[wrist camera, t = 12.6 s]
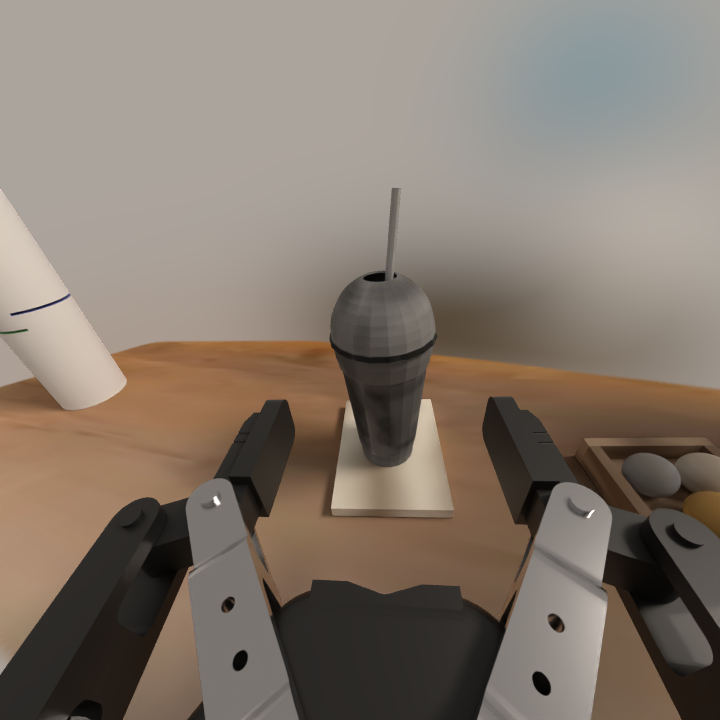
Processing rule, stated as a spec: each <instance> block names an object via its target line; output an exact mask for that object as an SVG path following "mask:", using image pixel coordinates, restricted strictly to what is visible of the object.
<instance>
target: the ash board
mask: <svg viewBox="0 0 720 720" xmlns="http://www.w3.org/2000/svg"><path fill="white" fill-rule="evenodd" d="M331 511H332V515H333V516H381V517H438V518H453V514H454V508H453V503H452V498H451V493H450V489H449V484H448V479H447V475H446V470H445V465H444V460H443V456H442V451H441V446H440V442H439V437H438V432H437V427H436V423H435V418H434V413H433V409H432V404H431V399H421V405H420V412H419V418H418V424H417V431H416V437H415V440H414V444H413V450H412V453H411V456H410V457H409V458H408V459H407V461H406V462H404V463H402V464H400V465H398V466H394V467H381V466H378V465H375V464H373V463H372V462H370V461H369V460H368V459H367V458H366V456H365V455H364V452H363V448H362V444H361V443H360V439H359V435H358V431H357V427H356V423H355V419H354V415H353V411H352V407H351V403H350V401H347V403H346V409H345V416H344V423H343V430H342V437H341V443H340V450H339V457H338V464H337V471H336V477H335V484H334V491H333V498H332V505H331Z"/></svg>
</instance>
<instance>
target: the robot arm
mask: <svg viewBox="0 0 720 720" xmlns="http://www.w3.org/2000/svg"><path fill="white" fill-rule="evenodd" d="M482 431H483V438H484V442H485V445H486V447H487V450H488V453H489V455H490V458H491V461H492V463H493V466H494V469H495V471H496V474H497V477H498V479H499V482H500V485H501V488H502V490H503V493H504V496H505V498H506V501H507V504H508V506H509V509H510V512H511V514H512V517H513V520H514V523H515V524H527V525H528V528H529V530H530V533H531V535H530V537H529V540H528V543H527V545H526V548H525V551H524V554H523V556H522V559H521V562H520V565H519V567H518V570H517V573H516V576H515V578H514V581H513V584H512V587H511V589H510V592H509V594H508V597H507V599H506V601H505V604H504V606H503V609H502V611H501V614H500V616H499V619H498V620H497V619H495V618H494V617H493V616H492V615H491V614H489V613H488V612H487V611H485V610H484V609H482V608H481V607H479V606H478V605H476V604H474V603H472V602H470V601H468V600H466V599H463V598H462V597H461V592H460V586H441V585H419V586H415V587H412V588H408V589H405V590H401V591H397V592H394V593H390V594H380V593H377V592H375V591H372V590H369V589H367V588H364V587H361V586H359V585H356V584H353V583H351V582H348V581H331V580H313V581H312V587H311V591H308V592H305V593H303V594H301V595H298V596H296V597H295V598H293V599H292V600H290V601H288V602H287V603H286V604H285V605H283V603H282V600H281V598H280V595H279V593H278V590H277V588H276V586H275V583H274V581H273V578H272V576H271V573H270V570H269V567H268V564H267V561H266V558H265V556H264V553H263V550H262V547H261V544H260V541H259V538H258V535H257V532H256V529H255V525H256V522H257V519H258V517H269V515H270V512H271V509H272V506H273V503H274V500H275V497H276V494H277V491H278V488H279V485H280V482H281V478H282V475H283V472H284V469H285V466H286V463H287V460H288V457H289V454H290V451H291V448H292V445H293V442H294V437H295V427H294V423H293V419H292V416H291V412H290V409H289V405H288V402H287V400H267V401H266V402H265V404H264V406H263V408H262V410H261V412H260V413H253V414H252V415H251V416H250V417H249V418H248V419H247V420H246V421H245V422H244V424H243V426H242V427H241V429H240V431H239V435H237V437H236V438H235V440H234V444H232V446H231V448H230V449H229V451H228V453H227V455H226V457H225V459H224V460H223V462H222V464H221V466H220V468H219V470H218V471H217V473H216V475H215V477H214V478H213V479H212V480H209V481H207V482H205V483H203V484H202V485H200V486H199V487H198V488H197V489H196V490H195V491H194V492H193V493H192V494H191V496H190V497H189V498H186V499H182V500H179V501H175V502H172V503H168V504H165V505H160V504H159V503H158V501H157V500H156V499H154V498H148V497H147V498H141V499H138V500H135V501H133V502H131V503H130V504H128V505H126V506H125V507H124V508H122V509H121V510H120V511H119V512H118V513H117V514H116V515H115V516H114V517H113V518H112V520H111V521H110V522H109V524H108V525H107V526H106V528H105V529H104V531H103V532H102V533H101V535H100V536H99V538H98V539H97V540H96V542H95V543H94V545H93V546H92V547H91V549H90V550H89V552H88V553H87V554H86V556H85V557H84V559H83V560H82V561H81V563H80V564H79V566H78V567H77V568H76V570H75V571H74V573H73V574H72V575H71V577H70V578H69V580H68V581H67V582H66V584H65V585H64V587H63V588H62V589H61V591H60V592H59V594H58V595H57V596H56V598H55V599H54V601H53V602H52V603H51V605H50V606H49V608H48V609H47V610H46V612H45V613H44V615H43V616H42V617H41V619H40V620H39V622H38V623H37V624H36V626H35V627H34V629H33V630H32V631H31V633H30V634H29V635H28V637H27V638H26V640H25V641H24V642H23V644H22V645H21V647H20V648H19V649H18V651H17V652H16V654H15V655H14V656H13V658H12V659H11V661H10V662H9V663H8V665H7V666H6V668H5V669H4V670H3V672H2V673H1V675H0V720H123V717H124V715H125V713H126V711H127V708H128V706H129V704H130V701H131V699H132V697H133V694H134V692H135V690H136V688H137V685H138V683H139V681H140V678H141V676H142V674H143V671H144V669H145V667H146V665H147V662H148V660H149V658H150V655H151V653H152V651H153V648H154V646H155V644H156V642H157V639H158V637H159V635H160V632H161V630H162V628H163V625H164V623H165V621H166V619H167V616H168V614H169V612H170V609H171V607H172V605H173V602H174V600H175V598H176V596H177V593H178V591H179V589H180V586H181V584H182V582H183V579H184V577H185V575H186V573H187V570H188V568H189V567H190V566H193V565H194V569H193V570H192V571H191V572H190V573H189V576H188V585H189V593H190V601H191V609H192V617H193V625H194V633H195V641H196V649H197V657H198V665H199V673H200V681H201V689H202V697H203V701H202V702H201V704H200V705H199V706H198V707H197V708H196V710H195V711H194V712H193V713H192V715H191V716H190V717H189V718H188V719H187V720H591V715H592V708H593V701H594V694H595V687H596V680H597V673H598V666H599V659H600V652H601V645H602V638H603V631H604V624H605V617H606V610H607V601H608V597H607V592H606V590H604V589H603V588H602V582H604V583H607V584H610V585H612V586H615V587H616V589H617V591H618V593H619V595H620V597H621V599H622V601H623V603H624V605H625V607H626V609H627V611H628V613H629V615H630V617H631V619H632V621H633V623H634V625H635V627H636V629H637V631H638V633H639V635H640V637H641V639H642V641H643V643H644V645H645V647H646V649H647V651H648V653H649V655H650V657H651V659H652V661H653V663H654V665H655V667H656V669H657V671H658V673H659V675H660V677H661V679H662V681H663V683H664V685H665V687H666V689H667V691H668V693H669V695H670V697H671V699H672V701H673V703H674V705H675V707H676V709H677V711H678V713H679V715H680V717H681V719H682V720H720V539H719V538H718V537H717V536H716V535H715V534H714V533H713V532H712V531H711V530H710V529H709V528H708V527H706V526H705V525H704V524H702V523H701V522H699V521H698V520H696V519H695V518H693V517H691V516H689V515H687V514H684V513H682V512H679V511H676V510H672V509H666V508H663V509H656V510H654V511H653V512H652V513H651V514H650V515H649V516H648V517H646V516H643V515H639V514H636V513H632V512H629V511H625V510H622V509H618V508H615V507H612V506H609V505H607V504H606V503H605V501H604V500H603V499H602V498H601V497H600V496H599V495H597V494H596V493H595V492H593V491H592V490H590V489H588V488H587V487H585V486H582V485H580V484H579V482H578V481H577V479H576V478H575V476H574V475H573V473H572V471H571V470H570V468H569V466H568V465H567V463H566V462H565V460H564V458H563V457H562V455H561V454H560V452H559V450H558V449H557V447H556V446H555V444H553V441H552V439H551V438H550V436H549V434H547V431H546V430H545V428H544V426H543V425H542V423H541V422H540V420H539V419H538V418H536V417H535V416H534V415H533V414H532V413H530V412H529V411H528V410H520V409H519V408H518V406H517V404H516V402H515V401H514V399H513V398H512V397H490V398H489V399H488V403H487V407H486V412H485V417H484V421H483V427H482Z"/></svg>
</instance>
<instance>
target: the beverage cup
mask: <svg viewBox="0 0 720 720" xmlns="http://www.w3.org/2000/svg"><path fill="white" fill-rule="evenodd" d="M400 194H401V188H392V194H391V207H390V220H389V234H388V247H387V261H386V271H376V272H370V273H367V274H365V275H363V276H360V277H358V278H357V279H355V280H354V281H353V282H351V283H350V284H349V285H348V286H347V287H346V288H345V289H344V290H343V291H342V293H341V294H340V296H339V298H338V300H337V302H336V305H335V307H334V309H333V313H332V317H331V333H330V343H331V347H332V348H333V349H334V351H335V354H336V358H337V360H338V363H339V365H340V368H341V370H342V371H343V374H344V378H345V382H346V386H347V390H348V394H349V399H350V403H351V407H352V411H353V415H354V419H355V423H356V427H357V431H358V435H359V439H360V443H361V444H362V448H363V452H364V455H365V456H366V458H367V459H368V460H369V461H370V462H372V463H373V464H375V465H378V466H381V467H394V466H398V465H400V464H402V463H404V462H406V461H407V459H408V458H409V457H410V456H411V453H412V450H413V444H414V440H415V437H416V431H417V424H418V418H419V412H420V405H421V399H422V393H423V387H424V380H425V374H426V368H427V365H428V363H429V360H430V357H431V353H432V350H433V345H434V343H435V341H436V338H437V334H436V329H435V321H434V316H433V312H432V308H431V305H430V302H429V300H428V298H427V296H426V295H425V293H424V292H423V291H422V289H421V288H420V287H419V286H418V285H417V284H415V283H414V282H413V281H412V280H410V279H409V278H407V277H405V276H404V275H401V274H399V273H395V272H394V263H395V252H396V240H397V229H398V217H399V205H400Z"/></svg>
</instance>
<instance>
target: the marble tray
mask: <svg viewBox="0 0 720 720" xmlns="http://www.w3.org/2000/svg"><path fill="white" fill-rule="evenodd" d="M575 457H576V459H577V460H578V462H579V463H580V465H581V466H582V468H583V469H584V471H585V472H586V474H587V475H588V477H589V478H590V480H591V481H592V483H593V484H594V486H595V487H596V489H597V490H598V492H599V493H600V495H601V496H602V498H603V499H604V501H605V502H606V504H607V505H609V506H612V507H615V508H618V509H622V510H625V511H629V512H632V513H636V514H639V515H643V516H646V517H648V516H649V515H650V514H651V513H652V512H653V511H654V510H656V509H663V508H666V509H672V510H676V511H679V512H682V513H684V514H687V515H689V516H691V517H693V518H695V519H696V520H698V521H699V522H701V523H702V524H704V525H705V526H706V527H708V528H709V529H710V530H711V531H712V532H713V533H714V534H715V535H716V536H717V537H718V538H719V539H720V449H719V448H718V447H716V446H715V445H714V444H713V443H712V442H710V441H709V440H708V439H707V438H706V437H677V438H583V440H582V442H581V444H580V446H579V448H578V450H577V452H576V454H575Z"/></svg>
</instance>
